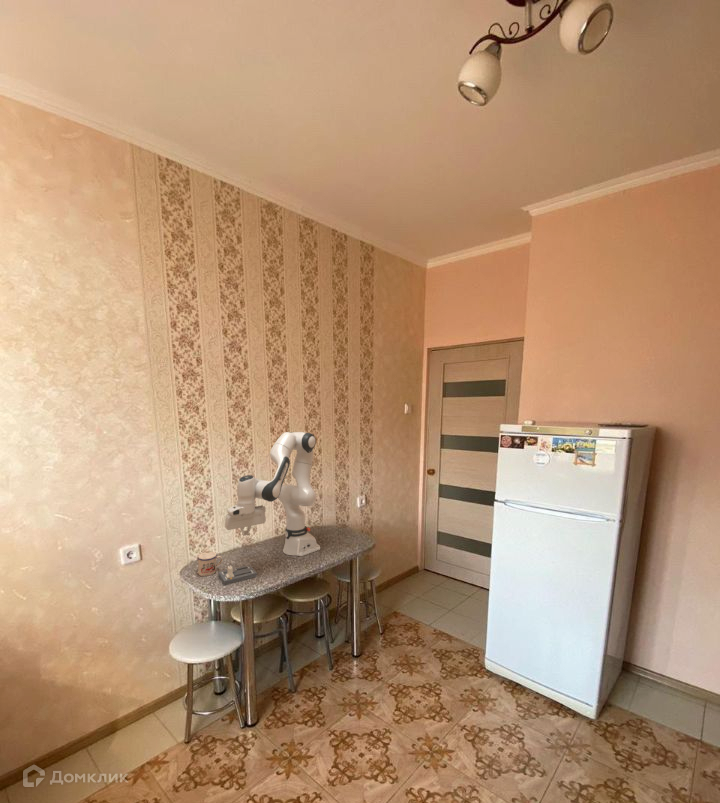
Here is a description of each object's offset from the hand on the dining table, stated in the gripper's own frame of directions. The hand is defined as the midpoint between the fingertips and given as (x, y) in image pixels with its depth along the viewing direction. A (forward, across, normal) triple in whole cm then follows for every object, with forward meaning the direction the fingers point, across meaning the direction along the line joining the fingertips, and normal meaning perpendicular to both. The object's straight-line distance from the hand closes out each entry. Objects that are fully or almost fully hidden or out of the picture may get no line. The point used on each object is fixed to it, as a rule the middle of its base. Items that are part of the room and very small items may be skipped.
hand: (245, 534), depth 186 cm
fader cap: (+19, +8, +1) cm, 20 cm away
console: (+21, +3, -2) cm, 22 cm away
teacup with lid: (+21, +14, -14) cm, 29 cm away
